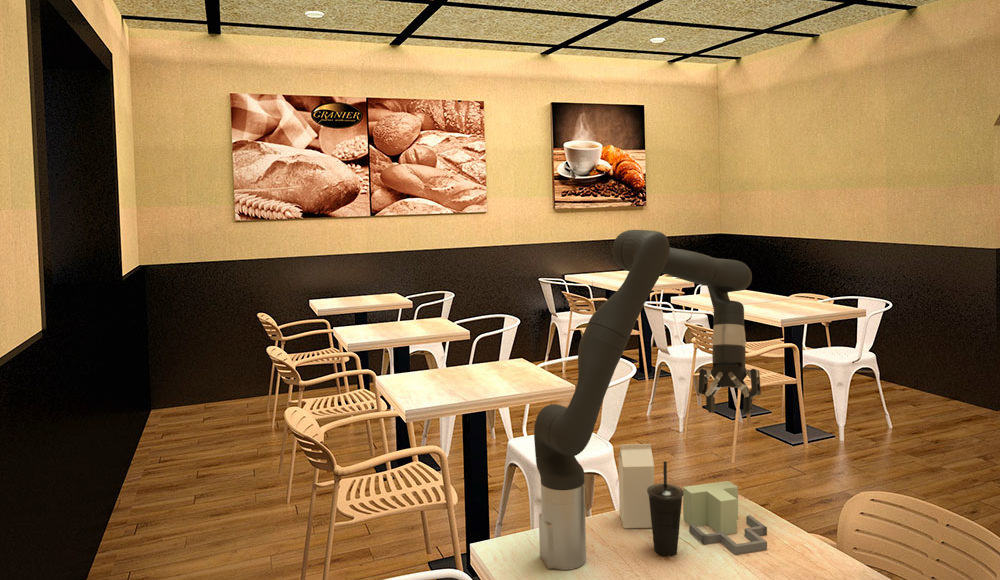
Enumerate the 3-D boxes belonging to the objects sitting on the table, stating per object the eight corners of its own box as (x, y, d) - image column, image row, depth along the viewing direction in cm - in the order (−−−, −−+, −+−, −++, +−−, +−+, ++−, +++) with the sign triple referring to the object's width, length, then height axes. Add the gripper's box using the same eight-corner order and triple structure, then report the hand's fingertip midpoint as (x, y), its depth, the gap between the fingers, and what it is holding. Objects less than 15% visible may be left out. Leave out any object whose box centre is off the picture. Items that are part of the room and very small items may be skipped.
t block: (704, 537, 159) (704, 503, 158) (683, 519, 169) (683, 487, 168) (752, 530, 162) (752, 496, 161) (728, 512, 172) (728, 480, 171)
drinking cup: (684, 544, 156) (684, 456, 154) (683, 561, 149) (683, 469, 147) (648, 541, 158) (648, 454, 156) (646, 558, 151) (645, 467, 149)
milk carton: (654, 528, 165) (654, 449, 162) (623, 529, 165) (622, 449, 163) (648, 515, 172) (648, 439, 169) (619, 515, 172) (618, 439, 170)
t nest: (718, 557, 150) (718, 549, 150) (689, 531, 162) (689, 524, 162) (783, 547, 154) (783, 539, 154) (750, 522, 166) (750, 515, 166)
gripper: (694, 343, 172) (693, 411, 169) (752, 342, 163) (752, 413, 160) (707, 347, 178) (706, 413, 175) (764, 346, 168) (765, 415, 165)
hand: (728, 413), depth 167 cm, fingers open, 8 cm apart
